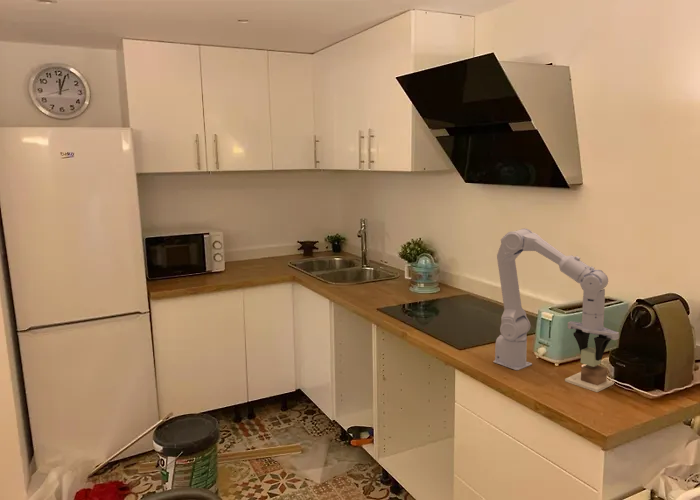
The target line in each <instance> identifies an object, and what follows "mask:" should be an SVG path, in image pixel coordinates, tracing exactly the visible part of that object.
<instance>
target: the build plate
mask: <svg viewBox="0 0 700 500" xmlns="http://www.w3.org/2000/svg"><path fill="white" fill-rule="evenodd" d="M564 382H565V383H569V384H572V385H575V386H577V387H580V388H584V389H586V390H590V391H592V392H595V393H599V392H600V391H603V390H605V389H607V388H608V387H611V386H612V385H615V384H614V383H613V382H612V381H609V380H608V379H607V381H606V382H604V383H602V384H599V385H595V384H591V383H588V382H585V381H582V380H581V371H579V372H578V373H574V374H573V375H570V376H569V377H566V378H564Z"/></svg>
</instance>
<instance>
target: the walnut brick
mask: <svg viewBox="0 0 700 500" xmlns="http://www.w3.org/2000/svg"><path fill="white" fill-rule="evenodd" d="M580 368H581V369H580V372H581V380H582V381H585V382H588V383H591V384H595V385H599V384H602V383H604V382H606V381H607V378H608V375H607V374H608V368H607V367H605V366H601V365H597V366H594V367H592V366H589V365H586V364H585V365H584V366H581V367H580Z"/></svg>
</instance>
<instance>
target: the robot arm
mask: <svg viewBox="0 0 700 500" xmlns="http://www.w3.org/2000/svg"><path fill="white" fill-rule="evenodd" d="M497 251H498V252H497V254H496V259H497V267H498V268H497V269H498V274H499V279H500V280H499V282H500V288H501V295H502V303H503V309H504V310H503V313H502V315H501V318H500V319H501V323H500V326H499V331H500V334H499V336H498V337H496V339H495V345H494V346H495V347H494V355H495V357H494V360H493V363H494V364H498V365H501V366H503V367H505V368H509V369H512V370H514V371H519V370H522V369H525V368H527V367H530V366H532V365H533V363H532V362H530V361H527V352H528V351H527V348H528V345H527V344H528V337H527V333H528V332H529V331H530V329H531V322H530V320H529V318H528V317H527V313H526V312H527V311H526V310H525V309H524V308H523V306H522V300H521V292H520V284H519V278H518V271H517V265H516V259H517V258H518V257H519V256H520V255H521V253H522V252H537V253H538V254H540V255H542V257H545V258H547V259H548V260H550V261H552V262H553V263H555V264H556V265H558V268H559V271H560V272H561V273H563V274H564V275H566V276H567V277H568V278H570V279H572V280H573V281H574V282H575V283H578V284H579V285H580V287H581V288H580V289H582V290H583V294H582V295H583V296H582V313H581V322H580V321H574V320H571V321H568V322H567V329H569V330H574V332H573V333H572V334H573V337H574V338H575V341H576V343H577V345H578V348H579V353H580V354H581V350H582V349H585V348H587V347H589V339H590V335H595V336H596V337H594V338H593V340H594V345H595V349H596V360H597V361H599V360H601V361H602V359H603V356H604V354H605V351H606V349H607V346H608V345H609V343H610V342H611V340H613V341H616V340H619V338H620V332H618V331H615V330H612V329H610V328H608V327H605V326H604V323H605V322H604V320H605V306H606V305H605V304H606V303H605V302H606V299H605V298H606V297H605V295H606V293H605V292H606V290H605V288H606V287H607V285H608V284H609V283H608V282H609V278H608V275H607V274H606V273H605V272H604V271H603V270H601V269H595V267H594V266H593V265H591V266H590V265H588V264H586V263H585V262H583V260H581V257H580V256H578V255H576V256H574V255H572V254H571V255H565V254H564V253H563V252H561V251H560V250H558V249H557V248H556V247H554V246H553V245H552V244H550V243H548V241H546V240H544V239H543V238H542V237H541V236H540V235H539V234H538V233H536V232H534V231H532V230H530V229H528V228H526V227H525V228H521V229H518V230H514V231H513V230H512V231H508V232H507V233H505V234H504V236H503V237H502V238H501V239H500V246H499V249H498V250H497Z"/></svg>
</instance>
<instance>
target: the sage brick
mask: <svg viewBox="0 0 700 500" xmlns="http://www.w3.org/2000/svg"><path fill="white" fill-rule="evenodd" d="M580 363H581V364H583V365H585V366H586V365H589V366H592V367H594V366H597V365H598V366H600V365H601V364H602V359H601V360H599V361H597V360H596V347H595V348H593V347H590V346H588V347H587V348H585V349H582V350H581V353H580Z"/></svg>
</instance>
